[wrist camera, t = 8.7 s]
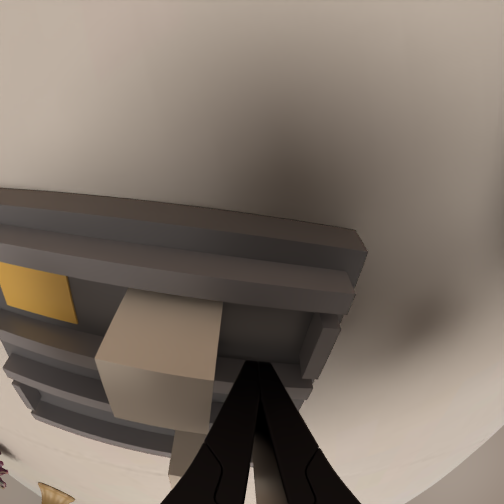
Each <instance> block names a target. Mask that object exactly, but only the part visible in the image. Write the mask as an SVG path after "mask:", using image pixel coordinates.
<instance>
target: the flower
mask: <svg viewBox="0 0 504 504" xmlns="http://www.w3.org/2000/svg"><path fill="white" fill-rule="evenodd" d="M0 455H1V452H0ZM3 465H4V464H3V462H2V461H0V476H1V475H3V474H8V470H5V469H4V468H2V466H3ZM5 487H6V483H5V482H3V481H2V479H1V478H0V488H2V489H4V488H5Z"/></svg>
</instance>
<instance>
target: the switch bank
mask: <svg viewBox="0 0 504 504" xmlns="http://www.w3.org/2000/svg"><path fill="white" fill-rule="evenodd" d="M367 253H368V251H367V249H366V247H365V246H364V244H363V242H362V240H361V239H360V237H359V235H358V234H357V232H356V230H351V229H345V228H339V227H333V226H327V225H320V224H314V223H308V222H301V221H295V220H288V219H282V218H275V217H268V216H261V215H254V214H247V213H240V212H232V211H225V210H217V209H210V208H202V207H194V206H186V205H178V204H169V203H160V202H152V201H143V200H133V199H124V198H114V197H104V196H94V195H83V194H72V193H60V192H48V191H34V190H20V189H5V188H0V340H1V342H2V344H3V346H4V348H5V350H6V352H7V354H8V356H9V358H8V360H7V361H6V363H5V365H4V366H3V370H4V371H5V373H6V375H7V376H8V377H9V378H11V379H13V382H12V385H13V386H14V388H15V390H16V391H17V393H18V394H19V396H20V397H21V399H22V400H23V402H24V404H25V405H26V406H27V408H29V409H31V410H32V412H31V414H32V415H33V417H34V418H35V419H36V420H39V421H41V422H44V423H46V424H49V425H52V426H54V427H57V428H60V429H62V430H65V431H68V432H71V433H74V434H77V435H80V436H83V437H86V438H90V439H93V440H96V441H100V442H103V443H107V444H110V445H114V446H118V447H122V448H126V449H130V450H134V451H139V452H143V453H148V454H153V455H158V456H163V457H169V458H171V453H172V447H173V441H174V435H175V430H173V429H168V428H162V427H157V426H152V425H147V424H142V423H138V422H133V421H129V420H124V419H120V418H116V417H114V414H113V412H112V409H111V406H110V404H109V401H108V398H107V395H106V393H105V390H104V387H103V384H102V381H101V378H100V375H99V371H98V368H97V365H96V362H95V356H96V354H97V352H98V349H99V347H100V345H101V343H102V341H103V339H104V336H105V334H106V332H107V330H108V328H109V326H110V324H111V322H112V320H113V318H114V316H115V314H116V312H117V310H118V307H119V305H120V303H121V302H122V300H123V298H124V296H125V294H126V292H127V290H128V288H134V289H140V290H147V291H153V292H159V293H166V294H172V295H179V296H185V297H192V298H199V299H207V300H214V301H221V302H223V308H222V316H221V324H220V333H219V341H218V350H217V358H216V367H215V376H214V384H213V393H212V403H211V412H210V421H209V431H210V429H211V427H212V425H213V423H214V421H215V419H216V417H217V415H218V413H219V411H220V409H221V407H222V405H223V403H224V401H225V400H226V398H227V396H228V394H229V392H230V390H231V388H232V386H233V384H234V382H235V380H236V378H237V376H238V374H239V372H240V370H241V368H242V366H243V363H244V362H245V360H254V361H265V362H270V363H271V364H272V365H273V367H274V369H275V371H276V373H277V374H278V376H279V378H280V380H281V381H282V383H283V385H284V387H285V389H286V390H287V392H288V394H289V396H290V397H291V399H292V401H293V403H294V404H295V406H296V408H297V410H298V411H299V409H300V408H301V406H302V404H303V402H304V400H307V399H308V397H309V395H310V393H311V391H312V390H313V385H312V384H313V382H314V380H315V379H318V378H319V375H320V373H321V371H322V369H323V367H324V365H325V363H326V361H327V359H328V357H329V355H330V352H331V350H332V348H333V346H334V344H335V342H336V339H337V337H338V335H339V333H340V330H341V328H340V322H341V320H342V318H343V315H347V314H348V312H349V309H350V307H351V305H352V302H353V300H354V297H355V295H356V294H355V291H354V288H355V286H356V283H357V280H358V278H359V275H360V273H361V270H362V267H363V264H364V262H365V259H366V256H367ZM250 467H253V455H252V457H251V463H250Z"/></svg>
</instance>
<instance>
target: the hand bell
mask: <svg viewBox="0 0 504 504" xmlns="http://www.w3.org/2000/svg"><path fill="white" fill-rule="evenodd" d="M38 485H39V487H40V489H41V493H42V504H69V503H71V502H73V501H74V500H75V499H74V498H73V497H71V496H69V495H67V494H65V493H63V492H61V491H59V490H57V489H55V488H53V487H50V486H48V485H45V484H43V483H40V482H39V483H38Z"/></svg>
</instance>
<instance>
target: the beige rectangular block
mask: <svg viewBox="0 0 504 504" xmlns="http://www.w3.org/2000/svg"><path fill="white" fill-rule="evenodd" d="M222 308H223V302H221V301H214V300H207V299H199V298H192V297H185V296H179V295H172V294H166V293H159V292H153V291H147V290H140V289H134V288H128V290H127V292H126V294H125V296H124V298H123V300H122V302H121V303H120V305H119V307H118V310H117V312H116V314H115V316H114V318H113V320H112V322H111V324H110V326H109V328H108V330H107V332H106V334H105V336H104V339H103V341H102V343H101V345H100V347H99V349H98V352H97V354H96V356H95V362H96V365H97V368H98V371H99V375H100V378H101V381H102V384H103V387H104V390H105V393H106V395H107V398H108V401H109V404H110V406H111V409H112V412H113V414H114V417H116V418H120V419H124V420H129V421H133V422H138V423H142V424H147V425H152V426H157V427H162V428H168V429H173V430H179V431H186V432H193V433H200V434H208V431H209V421H210V412H211V403H212V393H213V384H214V376H215V367H216V358H217V350H218V341H219V333H220V324H221V316H222Z"/></svg>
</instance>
